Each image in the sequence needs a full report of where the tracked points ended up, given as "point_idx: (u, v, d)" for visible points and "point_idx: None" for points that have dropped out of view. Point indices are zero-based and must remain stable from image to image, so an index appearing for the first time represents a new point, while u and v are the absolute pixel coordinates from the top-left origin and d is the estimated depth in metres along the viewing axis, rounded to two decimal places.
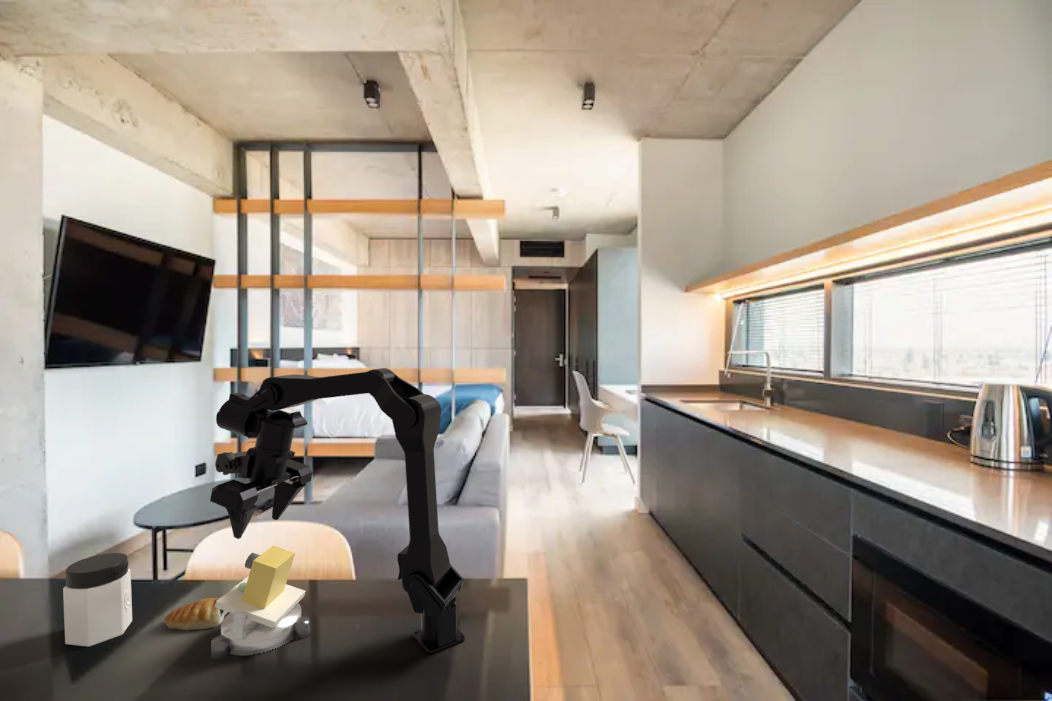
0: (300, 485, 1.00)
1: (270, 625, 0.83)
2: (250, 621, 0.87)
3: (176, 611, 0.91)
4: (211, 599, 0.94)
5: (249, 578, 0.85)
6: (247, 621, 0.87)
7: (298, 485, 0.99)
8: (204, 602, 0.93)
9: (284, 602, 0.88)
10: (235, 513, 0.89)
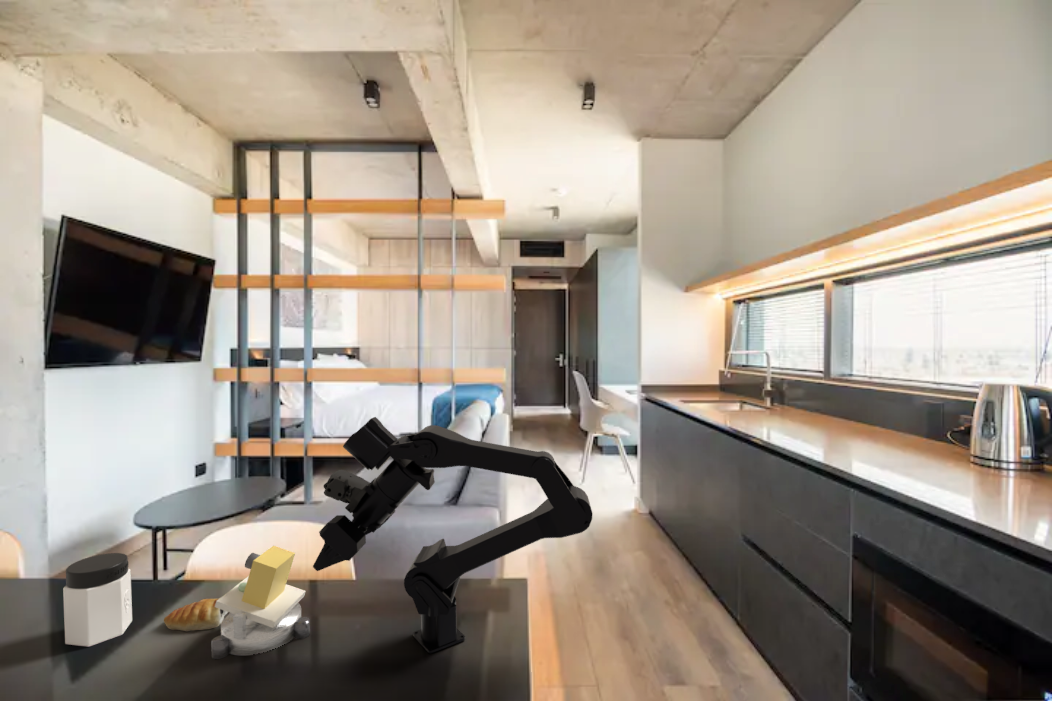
0: None
1: (270, 625, 0.83)
2: (250, 621, 0.87)
3: (176, 612, 0.91)
4: (211, 600, 0.94)
5: (249, 578, 0.85)
6: (247, 621, 0.87)
7: None
8: (204, 603, 0.92)
9: (284, 602, 0.88)
10: (330, 549, 0.81)
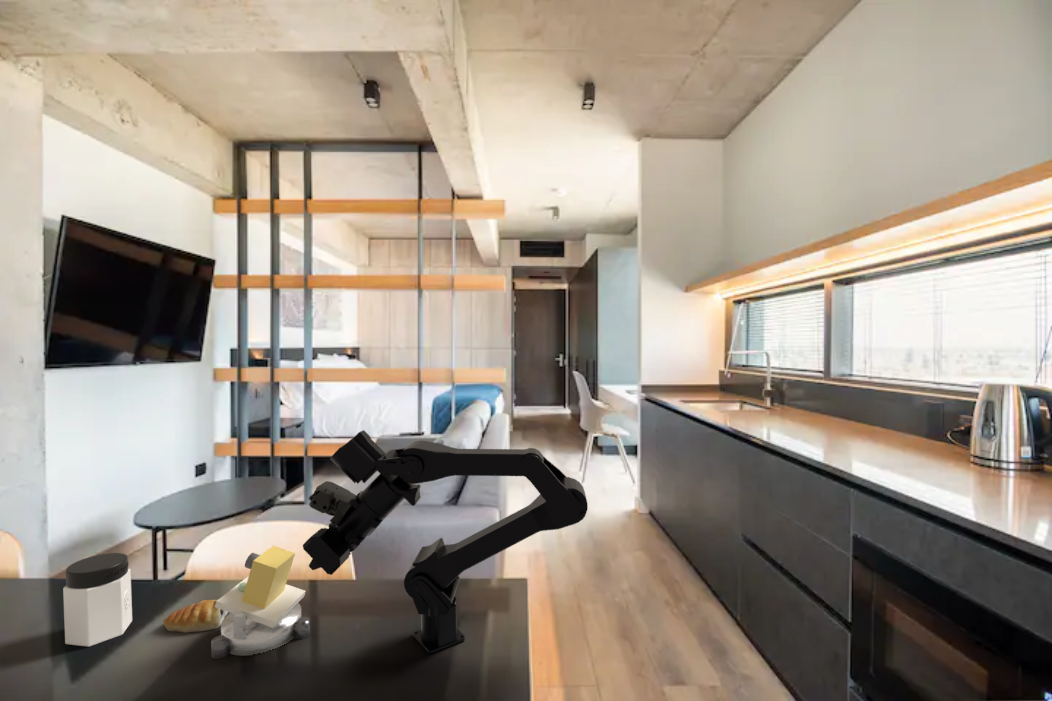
0: (356, 544, 0.89)
1: (270, 625, 0.83)
2: (250, 621, 0.87)
3: (175, 613, 0.91)
4: (211, 601, 0.93)
5: (249, 578, 0.85)
6: (247, 621, 0.87)
7: (354, 544, 0.89)
8: (204, 604, 0.92)
9: (284, 602, 0.88)
10: None
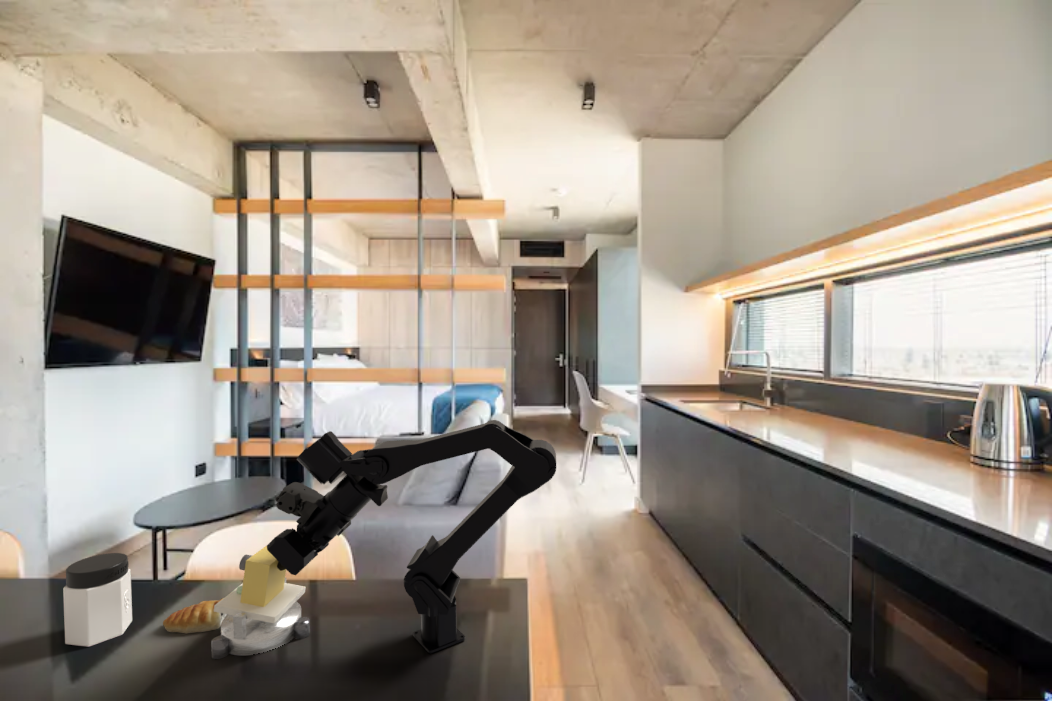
0: None
1: (271, 621, 0.83)
2: (250, 621, 0.87)
3: (175, 614, 0.90)
4: (211, 601, 0.93)
5: (244, 578, 0.85)
6: (247, 621, 0.87)
7: (322, 545, 0.89)
8: (204, 605, 0.92)
9: (284, 599, 0.88)
10: None
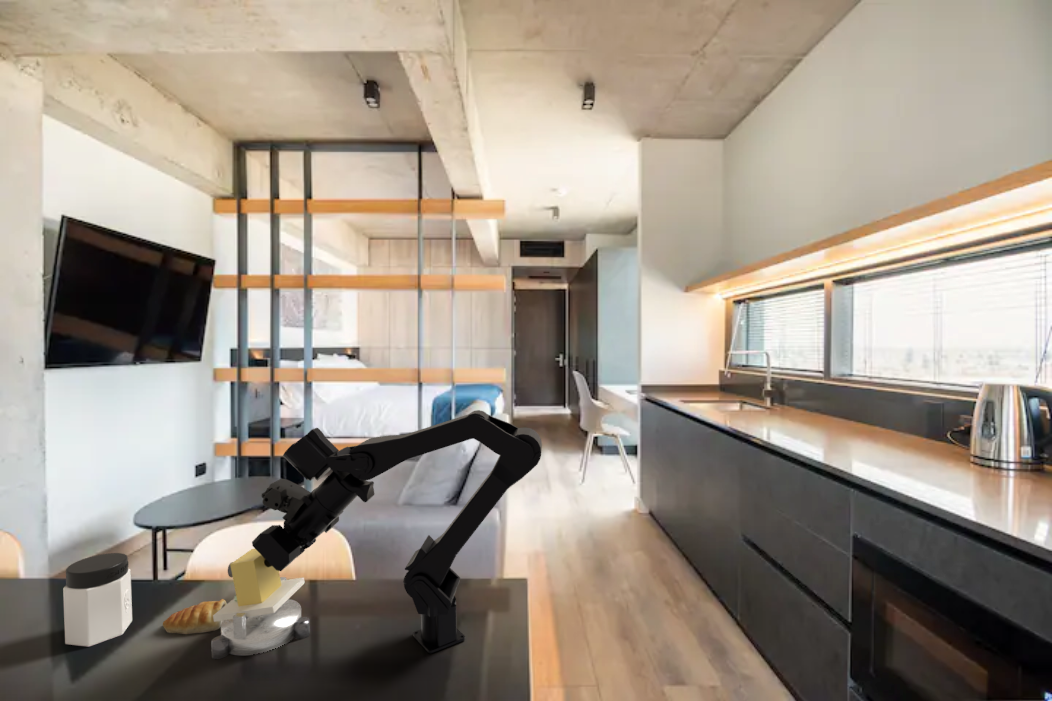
0: (311, 541, 0.90)
1: (270, 612, 0.83)
2: (250, 621, 0.87)
3: (175, 615, 0.90)
4: (210, 602, 0.93)
5: (235, 582, 0.85)
6: (247, 621, 0.87)
7: (309, 541, 0.89)
8: (204, 605, 0.91)
9: (281, 592, 0.88)
10: None
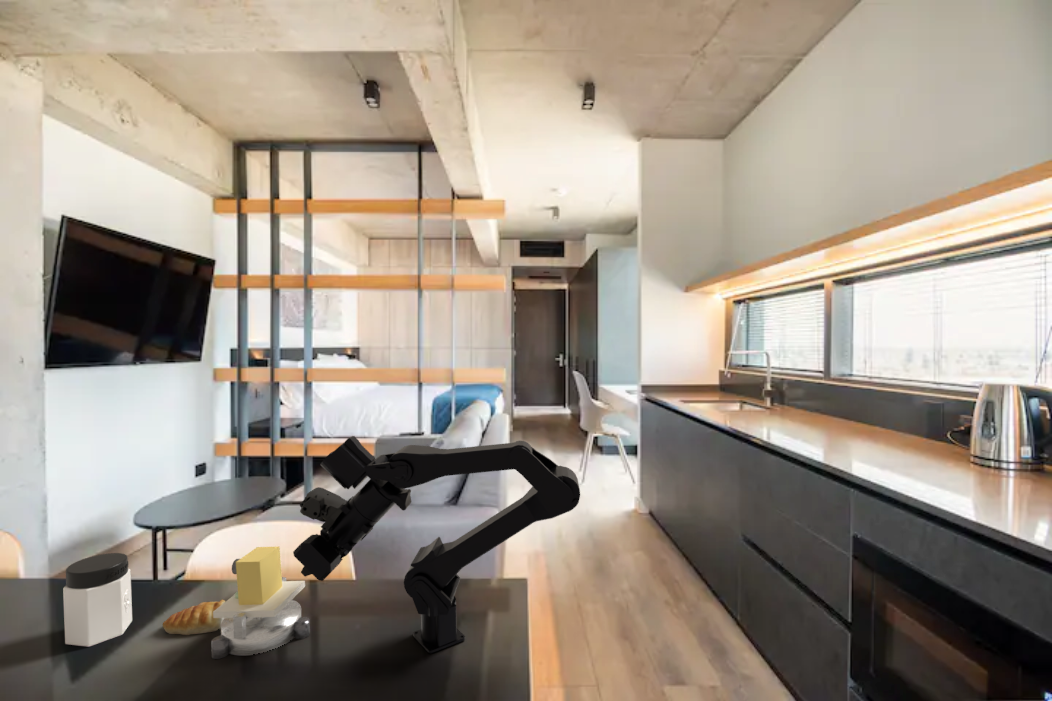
0: None
1: (271, 615, 0.83)
2: (250, 621, 0.87)
3: (175, 616, 0.90)
4: (210, 603, 0.93)
5: (238, 580, 0.85)
6: (247, 621, 0.87)
7: (346, 550, 0.89)
8: (204, 606, 0.91)
9: (282, 594, 0.88)
10: None
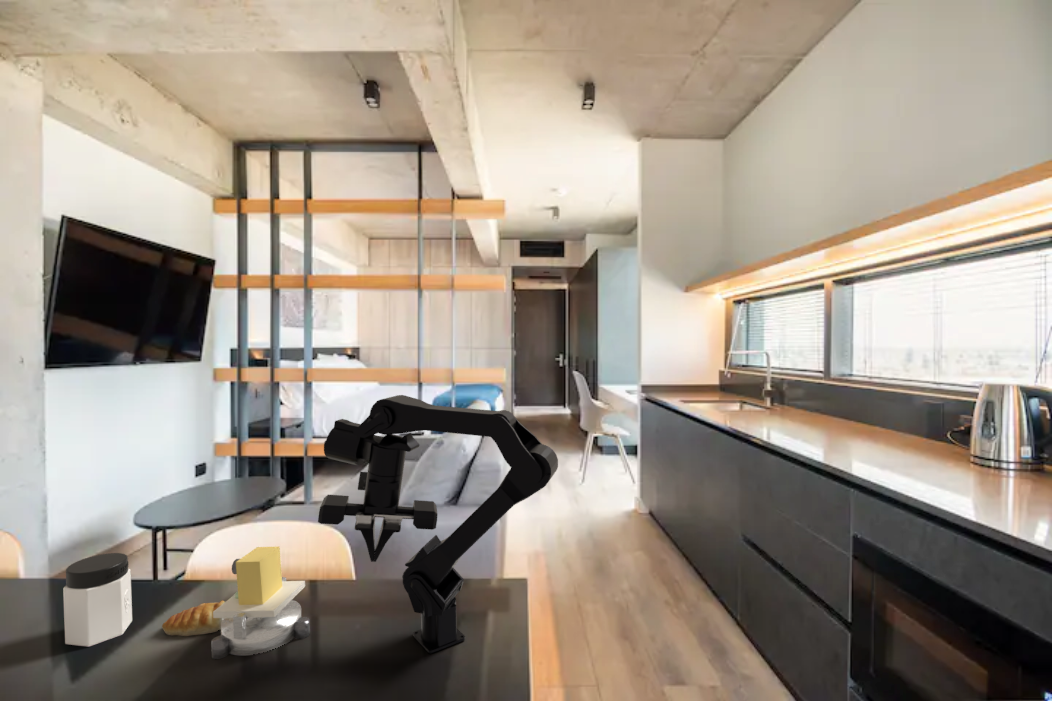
0: (391, 528, 0.87)
1: (271, 615, 0.83)
2: (250, 621, 0.87)
3: (175, 617, 0.89)
4: (210, 604, 0.92)
5: (238, 580, 0.85)
6: (247, 621, 0.87)
7: (388, 527, 0.87)
8: (204, 607, 0.91)
9: (282, 594, 0.88)
10: None
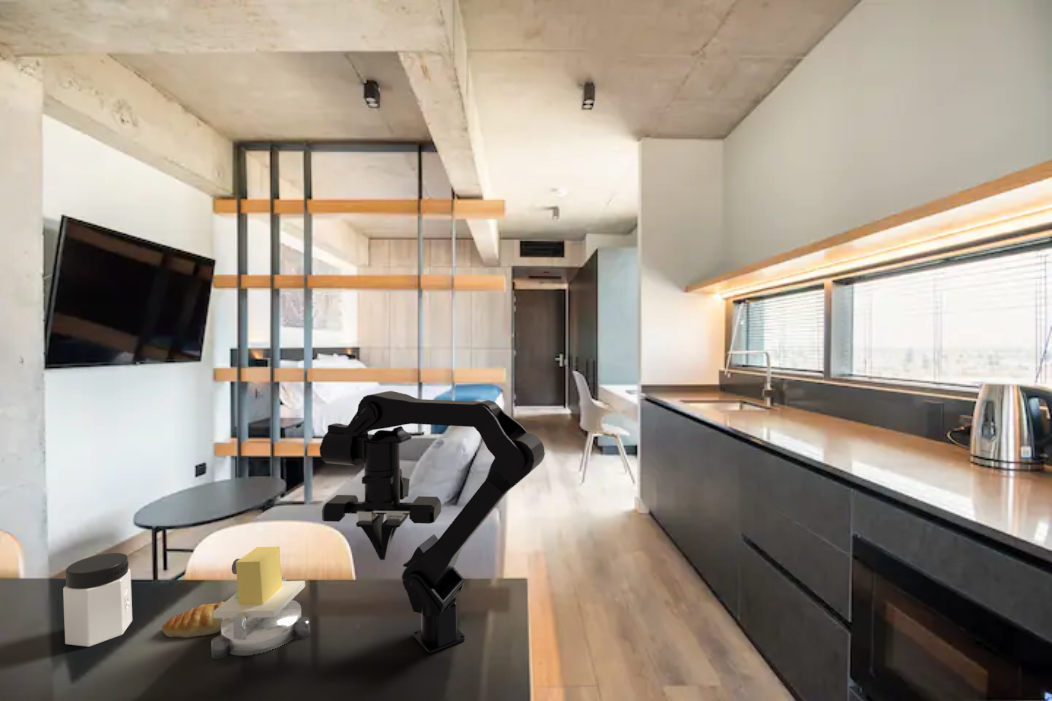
0: (390, 524, 0.86)
1: (271, 615, 0.83)
2: (250, 621, 0.87)
3: (174, 619, 0.89)
4: (210, 605, 0.92)
5: (238, 580, 0.85)
6: (247, 621, 0.87)
7: (388, 523, 0.87)
8: (204, 608, 0.91)
9: (282, 594, 0.88)
10: None
